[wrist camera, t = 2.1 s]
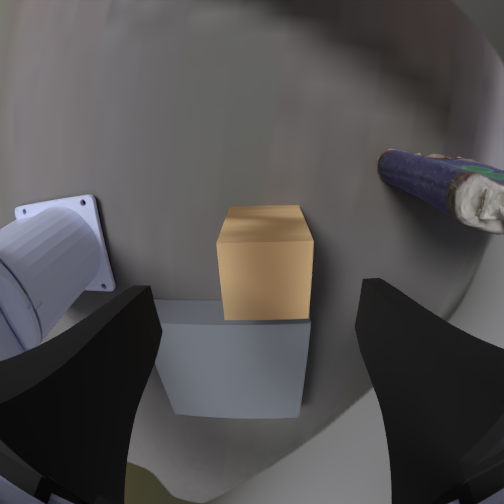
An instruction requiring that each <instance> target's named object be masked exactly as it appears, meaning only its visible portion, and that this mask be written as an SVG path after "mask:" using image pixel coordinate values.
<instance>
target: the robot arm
mask: <svg viewBox="0 0 504 504" xmlns="http://www.w3.org/2000/svg"><path fill="white" fill-rule="evenodd" d="M83 200H85V202H86V205H85V204H84V203H83ZM25 210H26V211H25ZM15 215H16V219H17V220H15V221H13V222H11V223H10V224H8V225H6V226H5V227H3V228H1V229H0V504H124V490H125V489H124V488H125V474H126V464H127V456H128V450H129V443H130V438H131V433H132V428H133V423H134V419H135V414H136V411H137V408H138V405H139V402H140V399H141V397H142V394H143V391H144V389H145V386H146V383H147V381H148V378H149V376H150V373H151V370H152V368H153V365H154V363H155V360H156V357H157V354H158V350H159V346H160V342H161V337H162V333H163V331H162V327H161V324H160V320H159V317H158V313H157V310H156V306H155V302H154V299H153V295H152V291H151V287H150V286H133V287H131V288H129V289H128V290H126V291H124V292H123V293H121V294H120V295H118V296H117V297H115V298H114V299H113V300H111V301H110V302H108V303H107V304H105V305H104V306H102V307H101V308H100V309H98V310H97V311H95V312H94V313H92V314H91V315H89V316H88V317H86V318H85V319H83V320H82V321H80V322H79V323H77V324H76V325H74V326H73V327H71V328H70V329H68V330H66V331H65V332H63V333H61V334H60V335H58V336H56V337H54V338H52V339H51V340H49V341H47V342H45V343H43V344H41V342H42V341H43V340H44V338H45V337H46V336H47V335H48V333H49V332H50V331H51V329H52V328H53V327H54V326H55V324H56V323H57V322H58V321H59V319H60V318H61V317H62V316H63V315H64V313H65V312H66V311H67V310H68V308H69V307H70V306H71V305H72V304H73V303H74V301H75V300H76V299H77V298H78V297H79V296H80V294H81V293H82V292H83V291H84V290H88V291H113V290H114V289H115V287H116V284H115V281H114V277H113V274H112V270H111V266H110V263H109V259H108V255H107V251H106V247H105V242H104V238H103V234H102V229H101V224H100V219H99V215H98V209H97V204H96V199H95V197H94V196H93V195H90V194H89V195H82V196H75V197H68V198H62V199H56V200H50V201H44V202H39V203H33V204H28V205H23V206H19V207H17V208H16V209H15ZM104 284H105V285H106V286H104ZM355 330H356V334H357V339H358V343H359V347H360V351H361V354H362V357H363V359H364V362H365V365H366V368H367V370H368V373H369V376H370V378H371V381H372V384H373V387H374V390H375V392H376V395H377V398H378V401H379V404H380V408H381V411H382V415H383V421H384V426H385V431H386V437H387V444H388V450H389V457H390V458H389V459H390V470H391V484H392V485H391V486H392V504H504V349H502V348H500V347H497V346H495V345H492V344H490V343H488V342H485V341H483V340H481V339H478V338H476V337H474V336H472V335H470V334H468V333H466V332H464V331H462V330H460V329H459V328H457V327H455V326H453V325H451V324H450V323H448V322H446V321H445V320H443V319H441V318H440V317H438V316H437V315H435V314H433V313H432V312H430V311H429V310H427V309H426V308H424V307H423V306H421V305H420V304H418V303H417V302H415V301H414V300H412V299H411V298H409V297H408V296H407V295H405V294H404V293H402V292H401V291H399V290H398V289H396V288H395V287H393V286H392V285H390V284H389V283H387V282H386V281H384V280H382V279H380V278H371V279H363V282H362V288H361V295H360V301H359V307H358V312H357V318H356V323H355Z"/></svg>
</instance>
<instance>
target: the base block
mask: <svg viewBox="0 0 504 504" xmlns="http://www.w3.org/2000/svg"><path fill="white" fill-rule="evenodd" d="M154 302H155V306H156V310H157V313H158V317H159V320H160V324H161V327H162V331H163V333H162V337H161V342H160V346H159V350H158V354H157V357H156V360H155V365H156V368H157V370H158V373H159V376H160V378H161V381H162V383H163V386H164V388H165V391H166V393H167V396H168V398H169V401H170V403H171V405H172V408H173V410H174V412H175V414H179V415H189V416H201V417H217V418H246V419H266V418H295V417H299V414H300V407H301V401H302V394H303V387H304V379H305V372H306V364H307V356H308V347H309V338H310V329H311V321H310V316H309V318H308V319H281V320H225V318H224V310H223V301H222V300H159V299H154Z"/></svg>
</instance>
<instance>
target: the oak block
mask: <svg viewBox="0 0 504 504" xmlns="http://www.w3.org/2000/svg"><path fill="white" fill-rule="evenodd" d="M313 247H314V240H313V238H312V235H311V233H310V231H309V228H308V226H307V224H306V221H305V219H304V216H303V214H302V212H301V209H300V207H299V205H278V206H240V207H229V210H228V213H227V215H226V218H225V221H224V224H223V226H222V229H221V232H220V235H219V238H218V240H217V254H218V264H219V273H220V283H221V292H222V301H223V310H224V318H225V320H281V319H308V318H309V306H310V294H311V280H312V265H313Z"/></svg>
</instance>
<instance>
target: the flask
mask: <svg viewBox="0 0 504 504" xmlns="http://www.w3.org/2000/svg"><path fill="white" fill-rule="evenodd" d="M377 159H378V161H377V168H376V170H377V172H378V175H379V177H380V178H381V179H382V180H383V181H384V182H387V183H388V184H390V185H393V186H396V187H398V188H401V189H403V190H404V191H406V192H408V193H410V194H412V195H414V196H416V197H418V198H420V199H422V200H423V201H425V202H426V203H428V204H430V205H432V206H433V207H435V208H437V209H439V210H440V211H442V212H444V213H445V214H447V215H448V216H450V217H451V218H453V219H454V220H455V221H457V222H458V223H460V224H463V225H465V226H468V227H472V228H475V229H478V230H483V231H486V232H488V233H494V234H504V171H503V170H499V169H496V168H494V167H492V166H488V165H485V164H482V163H479V162H476V161H474V160H472V159H464V158H462V157H457V158H455V159H454V158H448V157H445V155H439V153H438V154H432V155H431V156H430V155H429V156H427V157H426V156H422V155H421V154H420V152H419V153H417V154H411V153H408V152H406V150H405V151H401V150H393V149H388V150H386V151H385V152H384V153H382V154H381V155H380V156H377Z"/></svg>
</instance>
